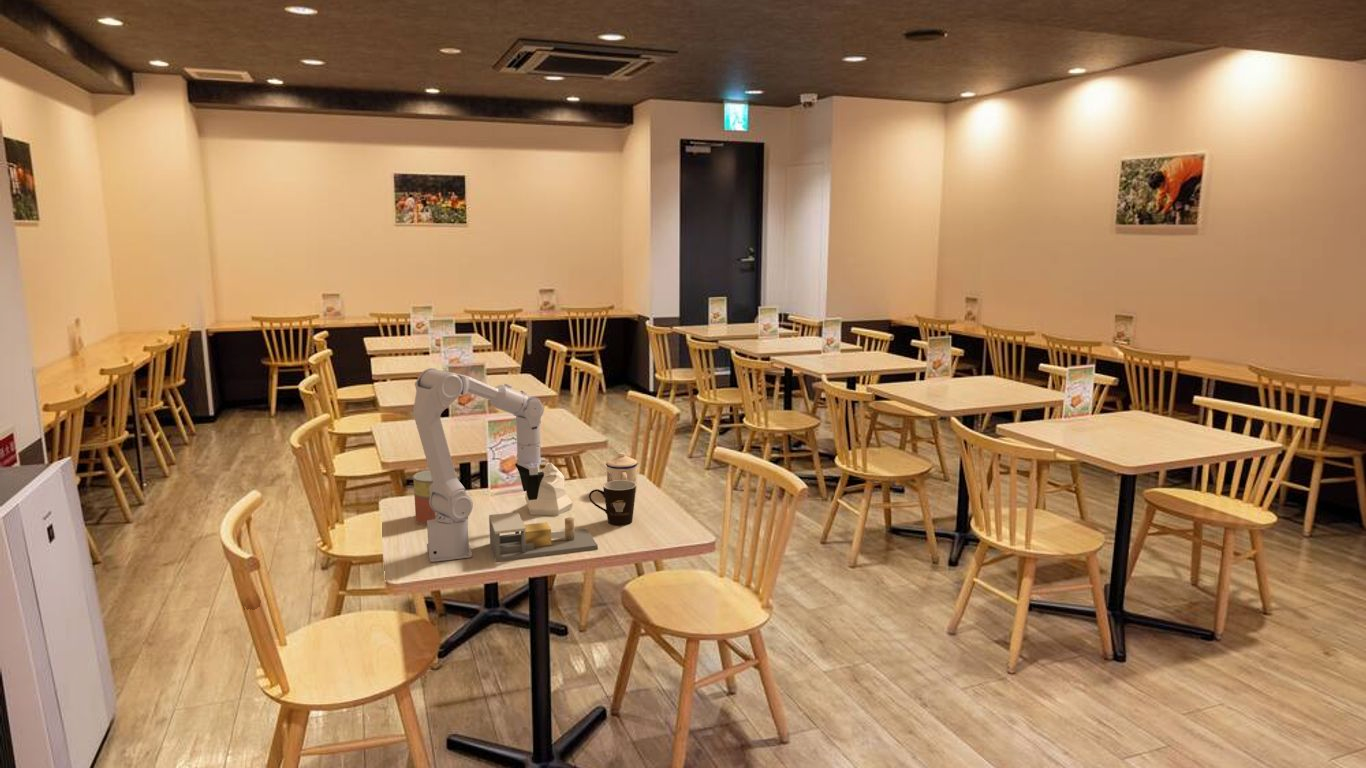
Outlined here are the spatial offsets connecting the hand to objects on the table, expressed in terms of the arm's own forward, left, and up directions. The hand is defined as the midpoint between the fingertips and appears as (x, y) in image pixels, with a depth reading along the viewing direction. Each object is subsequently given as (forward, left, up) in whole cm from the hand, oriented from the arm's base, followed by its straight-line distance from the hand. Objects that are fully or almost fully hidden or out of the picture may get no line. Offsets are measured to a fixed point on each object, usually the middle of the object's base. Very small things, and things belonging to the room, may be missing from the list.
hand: (530, 494), depth 217 cm
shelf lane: (+1, -12, -9) cm, 15 cm away
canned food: (-22, +17, -10) cm, 29 cm away
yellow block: (+3, -12, -8) cm, 15 cm away
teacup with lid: (+30, +22, -10) cm, 38 cm away
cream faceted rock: (+8, +16, -10) cm, 20 cm away
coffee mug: (+22, 0, -10) cm, 24 cm away
